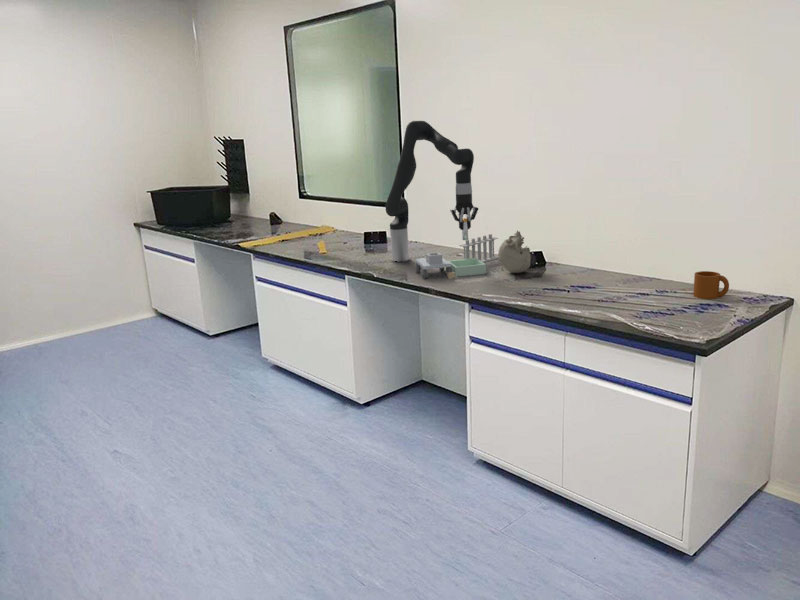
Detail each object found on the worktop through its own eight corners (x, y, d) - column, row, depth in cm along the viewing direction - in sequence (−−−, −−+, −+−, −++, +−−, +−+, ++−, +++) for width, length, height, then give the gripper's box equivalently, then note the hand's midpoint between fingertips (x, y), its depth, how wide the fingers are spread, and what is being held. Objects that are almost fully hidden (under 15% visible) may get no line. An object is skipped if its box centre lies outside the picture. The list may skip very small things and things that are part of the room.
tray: (447, 269, 307) (446, 261, 306) (475, 266, 310) (475, 257, 309) (455, 276, 293) (455, 267, 292) (486, 273, 296) (486, 264, 295)
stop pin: (461, 239, 298) (460, 218, 295) (467, 238, 299) (466, 218, 296) (463, 240, 296) (462, 219, 293) (469, 239, 296) (468, 218, 293)
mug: (723, 301, 234) (725, 278, 231) (690, 297, 241) (691, 275, 239) (730, 295, 240) (732, 273, 237) (697, 291, 248) (698, 269, 245)
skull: (530, 276, 286) (530, 233, 281) (497, 276, 290) (497, 233, 284) (530, 269, 298) (530, 228, 293) (499, 269, 301) (498, 228, 296)
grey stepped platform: (415, 271, 308) (414, 250, 305) (443, 268, 310) (442, 247, 307) (425, 281, 288) (424, 259, 286) (455, 277, 291) (454, 255, 288)
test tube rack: (466, 268, 309) (465, 241, 306) (459, 266, 312) (459, 240, 309) (498, 258, 325) (498, 233, 322) (491, 257, 328) (491, 232, 325)
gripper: (475, 190, 296) (476, 226, 301) (447, 193, 293) (448, 229, 298) (480, 192, 289) (481, 229, 294) (451, 194, 286) (453, 231, 291)
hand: (464, 229), depth 296 cm, fingers closed on stop pin, 2 cm apart
